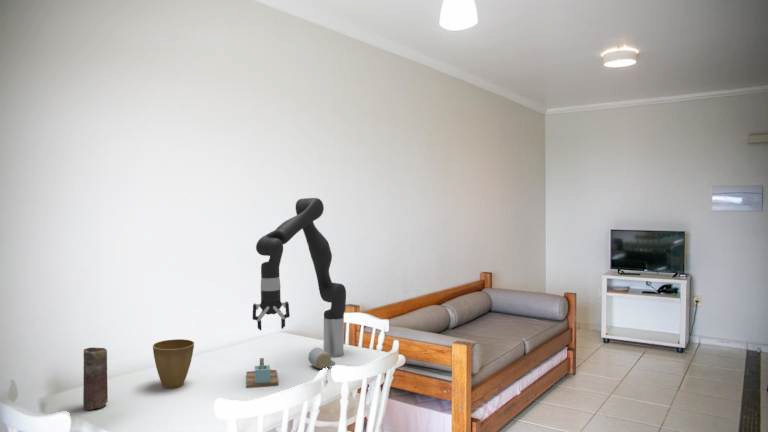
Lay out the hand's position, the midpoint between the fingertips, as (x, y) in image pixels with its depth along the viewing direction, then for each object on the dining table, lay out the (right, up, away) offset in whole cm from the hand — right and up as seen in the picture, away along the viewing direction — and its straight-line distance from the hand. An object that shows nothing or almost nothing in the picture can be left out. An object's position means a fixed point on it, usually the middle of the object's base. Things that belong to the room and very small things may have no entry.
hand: (271, 329), depth 213 cm
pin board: (-4, -20, +1) cm, 21 cm away
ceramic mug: (+18, -20, +19) cm, 33 cm away
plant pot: (-36, -20, -6) cm, 42 cm away
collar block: (-3, -19, -4) cm, 20 cm away
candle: (-54, -21, -28) cm, 65 cm away
